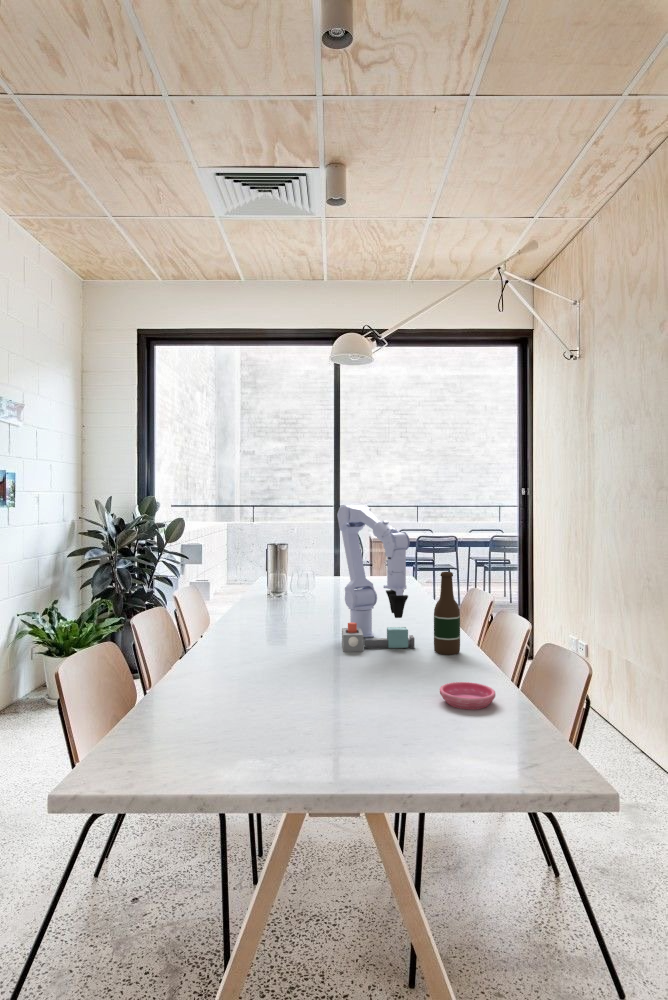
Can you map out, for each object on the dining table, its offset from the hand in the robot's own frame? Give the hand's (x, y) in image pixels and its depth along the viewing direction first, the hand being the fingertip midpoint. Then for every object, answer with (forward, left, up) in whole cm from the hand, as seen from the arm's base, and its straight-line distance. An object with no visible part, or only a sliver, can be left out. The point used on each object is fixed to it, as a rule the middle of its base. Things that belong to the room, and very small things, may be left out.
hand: (396, 615), depth 198 cm
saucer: (+53, +9, -10) cm, 55 cm away
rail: (0, -2, -10) cm, 10 cm away
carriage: (0, 0, -10) cm, 10 cm away
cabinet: (0, -14, -10) cm, 17 cm away
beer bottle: (+7, +14, -10) cm, 19 cm away
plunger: (0, -14, -6) cm, 15 cm away
